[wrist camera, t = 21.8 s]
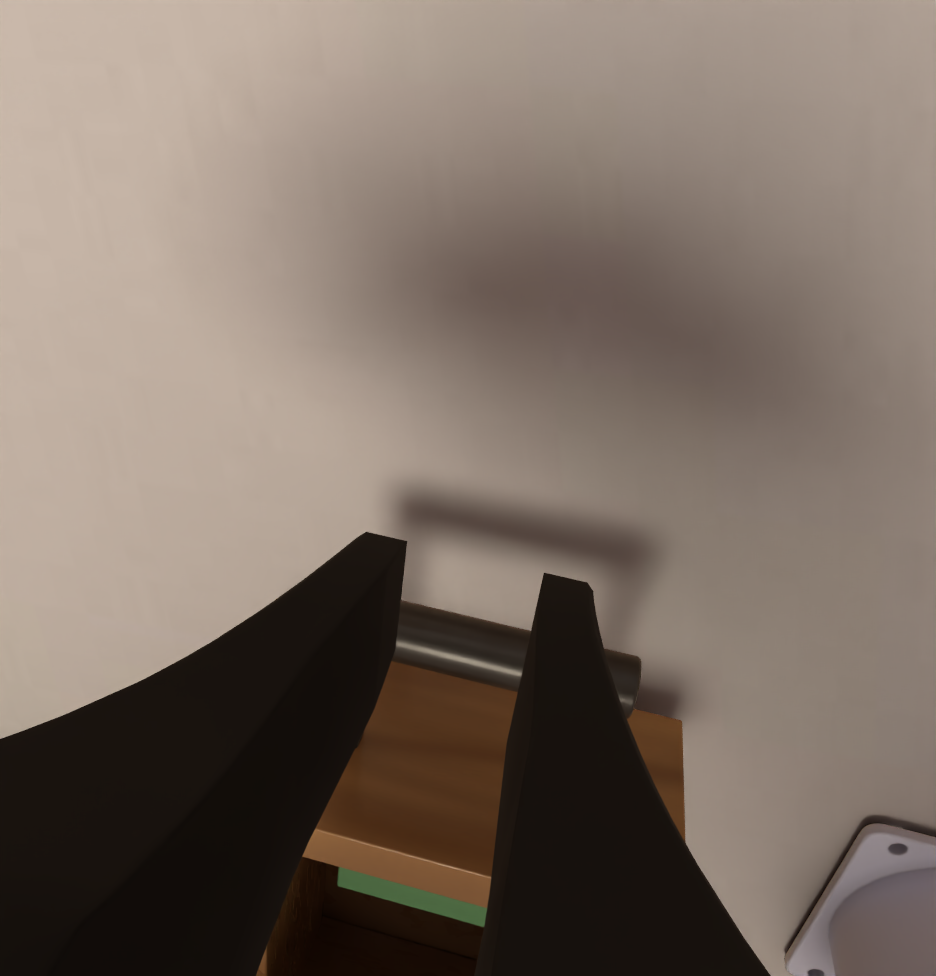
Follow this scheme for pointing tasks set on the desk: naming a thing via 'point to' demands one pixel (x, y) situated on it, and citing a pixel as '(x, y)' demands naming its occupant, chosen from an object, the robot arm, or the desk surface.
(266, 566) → the desk surface
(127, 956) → the robot arm
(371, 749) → the drawer
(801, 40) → the desk surface
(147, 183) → the desk surface
